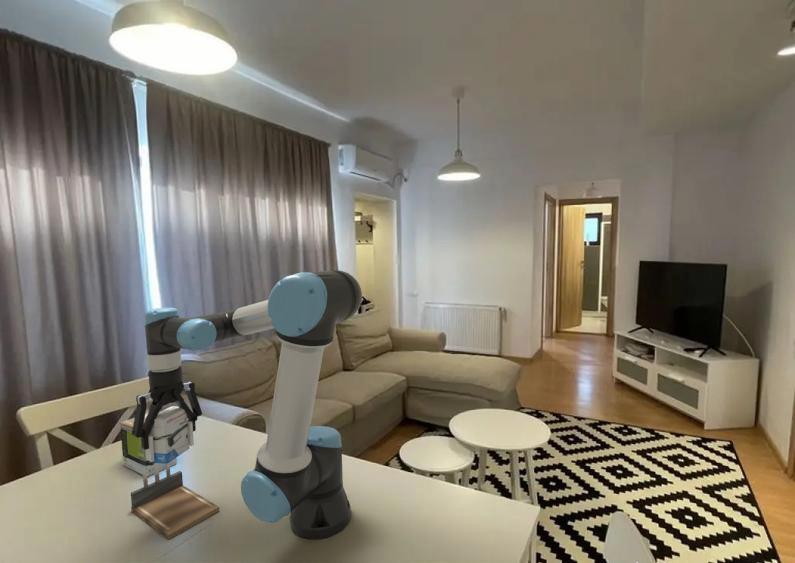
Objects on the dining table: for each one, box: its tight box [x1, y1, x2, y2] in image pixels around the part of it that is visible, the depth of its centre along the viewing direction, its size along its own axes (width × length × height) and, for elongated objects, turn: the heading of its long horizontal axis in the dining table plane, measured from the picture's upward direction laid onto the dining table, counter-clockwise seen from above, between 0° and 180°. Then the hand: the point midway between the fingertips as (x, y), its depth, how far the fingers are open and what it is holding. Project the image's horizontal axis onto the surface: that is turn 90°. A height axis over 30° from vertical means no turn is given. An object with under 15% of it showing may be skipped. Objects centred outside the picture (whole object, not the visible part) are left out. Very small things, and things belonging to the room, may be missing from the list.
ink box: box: [150, 405, 190, 464], centre depth 109 cm, size 8×5×12 cm, turn 168°
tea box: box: [120, 413, 178, 478], centre depth 135 cm, size 15×10×15 cm, turn 58°
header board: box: [130, 463, 220, 540], centre depth 110 cm, size 20×13×9 cm, turn 55°
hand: (170, 451), depth 109 cm, fingers closed on ink box, 9 cm apart
